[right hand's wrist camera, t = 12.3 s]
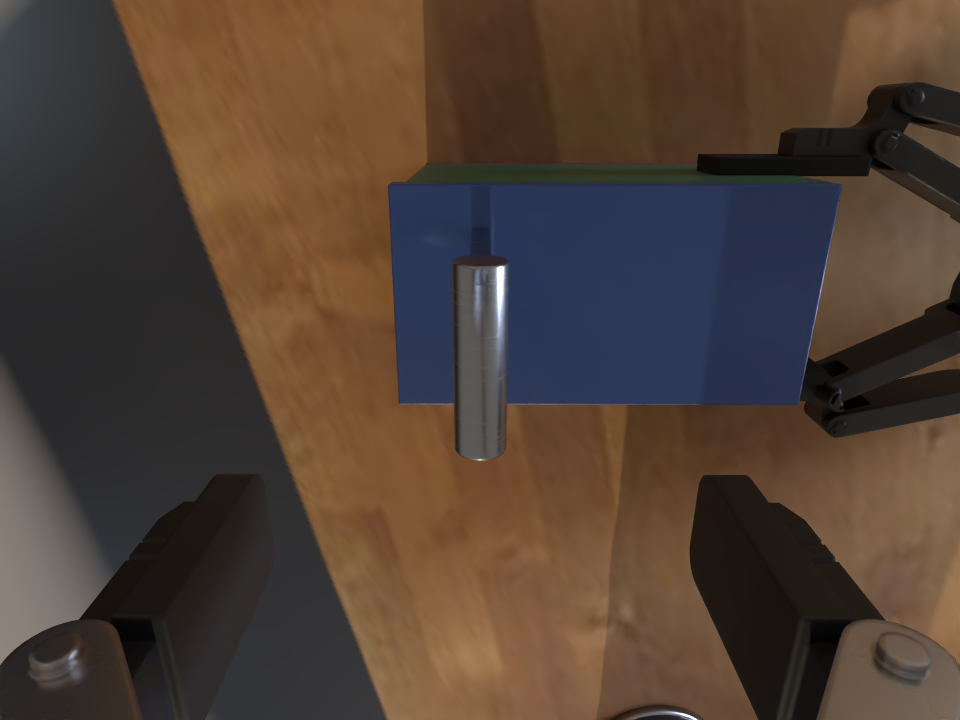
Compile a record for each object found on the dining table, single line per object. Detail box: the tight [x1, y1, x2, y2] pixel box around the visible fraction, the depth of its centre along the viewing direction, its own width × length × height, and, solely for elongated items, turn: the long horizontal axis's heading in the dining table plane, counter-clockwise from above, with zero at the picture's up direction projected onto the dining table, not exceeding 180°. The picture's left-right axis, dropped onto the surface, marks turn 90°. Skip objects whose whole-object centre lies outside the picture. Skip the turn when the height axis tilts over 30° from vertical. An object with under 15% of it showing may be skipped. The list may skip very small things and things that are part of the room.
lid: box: [388, 182, 842, 461], centre depth 22 cm, size 17×9×8 cm, turn 90°
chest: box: [407, 163, 830, 183], centre depth 31 cm, size 16×9×10 cm, turn 90°
